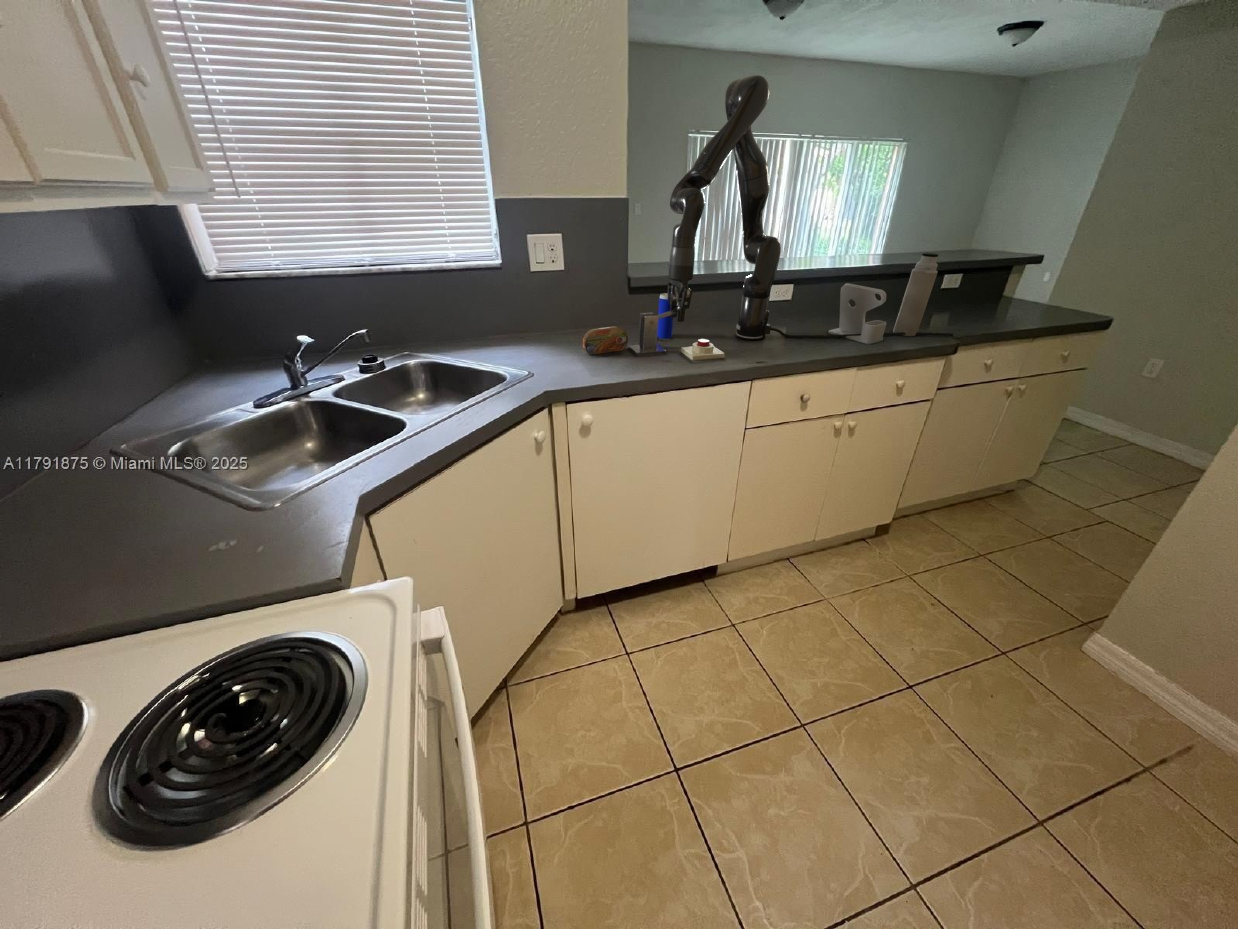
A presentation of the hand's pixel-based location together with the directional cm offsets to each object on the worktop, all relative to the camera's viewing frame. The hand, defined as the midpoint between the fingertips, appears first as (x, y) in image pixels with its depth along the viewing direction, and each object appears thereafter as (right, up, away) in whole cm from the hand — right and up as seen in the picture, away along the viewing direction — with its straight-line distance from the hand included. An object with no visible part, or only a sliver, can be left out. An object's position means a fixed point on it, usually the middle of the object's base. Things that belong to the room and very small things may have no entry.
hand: (676, 319), depth 155 cm
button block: (+8, -12, -1) cm, 15 cm away
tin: (-23, -12, 0) cm, 26 cm away
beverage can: (-3, -3, +15) cm, 16 cm away
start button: (+8, -9, -3) cm, 13 cm away
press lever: (-5, -1, -1) cm, 5 cm away
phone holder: (+68, 0, +23) cm, 72 cm away
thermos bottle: (+90, +3, +28) cm, 94 cm away
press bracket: (-9, -10, +2) cm, 14 cm away
